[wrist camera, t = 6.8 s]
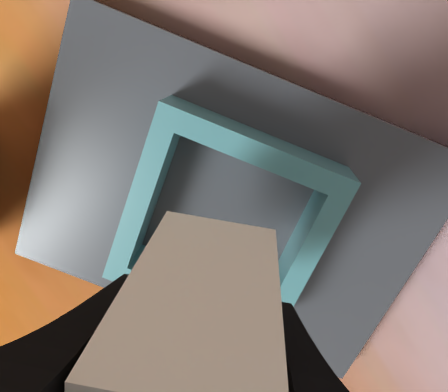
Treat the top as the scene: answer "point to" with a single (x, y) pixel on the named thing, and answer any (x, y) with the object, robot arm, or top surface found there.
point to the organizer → (227, 172)
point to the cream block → (192, 315)
